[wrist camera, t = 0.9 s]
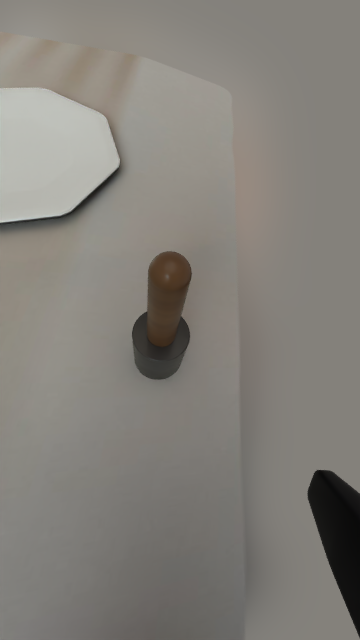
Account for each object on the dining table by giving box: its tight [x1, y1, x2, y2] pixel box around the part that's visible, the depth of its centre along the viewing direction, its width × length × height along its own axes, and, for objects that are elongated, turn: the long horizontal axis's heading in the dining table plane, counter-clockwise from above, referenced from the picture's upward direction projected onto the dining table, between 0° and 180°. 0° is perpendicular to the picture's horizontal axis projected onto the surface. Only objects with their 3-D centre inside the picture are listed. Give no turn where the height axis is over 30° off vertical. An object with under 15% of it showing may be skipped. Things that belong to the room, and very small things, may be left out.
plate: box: [0, 88, 120, 225], centre depth 31 cm, size 24×24×2 cm
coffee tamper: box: [132, 251, 192, 380], centre depth 17 cm, size 4×4×13 cm
